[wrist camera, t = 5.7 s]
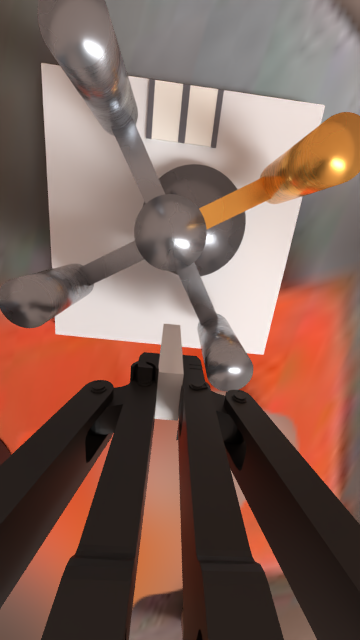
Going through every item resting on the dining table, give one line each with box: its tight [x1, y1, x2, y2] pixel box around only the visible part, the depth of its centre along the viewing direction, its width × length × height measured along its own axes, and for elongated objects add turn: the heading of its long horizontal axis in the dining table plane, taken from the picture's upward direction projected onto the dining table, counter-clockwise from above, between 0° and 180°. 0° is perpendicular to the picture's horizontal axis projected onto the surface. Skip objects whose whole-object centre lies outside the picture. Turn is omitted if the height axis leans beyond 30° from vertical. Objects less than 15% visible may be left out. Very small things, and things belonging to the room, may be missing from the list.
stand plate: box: [41, 63, 325, 355], centre depth 21 cm, size 20×20×2 cm
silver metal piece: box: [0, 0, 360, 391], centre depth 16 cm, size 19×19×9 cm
